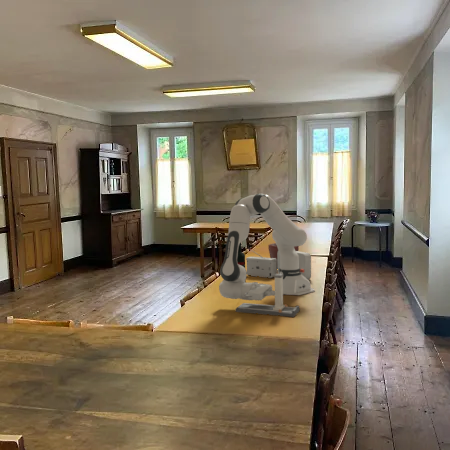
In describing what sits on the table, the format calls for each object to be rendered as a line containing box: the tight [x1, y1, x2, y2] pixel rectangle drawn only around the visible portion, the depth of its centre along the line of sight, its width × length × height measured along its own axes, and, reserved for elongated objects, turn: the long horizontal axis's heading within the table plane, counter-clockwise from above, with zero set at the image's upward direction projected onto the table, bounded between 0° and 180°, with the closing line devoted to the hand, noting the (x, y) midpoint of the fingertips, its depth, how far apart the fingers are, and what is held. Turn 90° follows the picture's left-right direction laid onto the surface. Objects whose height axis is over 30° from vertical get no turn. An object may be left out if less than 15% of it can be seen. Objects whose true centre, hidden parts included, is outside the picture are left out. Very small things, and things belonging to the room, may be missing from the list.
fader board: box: [235, 302, 301, 318], centre depth 229 cm, size 30×12×3 cm, turn 68°
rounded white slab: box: [277, 250, 312, 280], centre depth 314 cm, size 29×8×18 cm, turn 33°
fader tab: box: [273, 273, 285, 310], centre depth 226 cm, size 4×7×17 cm, turn 158°
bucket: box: [268, 242, 300, 269], centre depth 345 cm, size 24×22×25 cm
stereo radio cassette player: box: [245, 247, 278, 279], centre depth 318 cm, size 21×8×20 cm, turn 58°
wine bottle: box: [237, 242, 247, 282], centre depth 298 cm, size 8×10×30 cm
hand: (275, 293), depth 227 cm, fingers closed, pressing on fader tab
